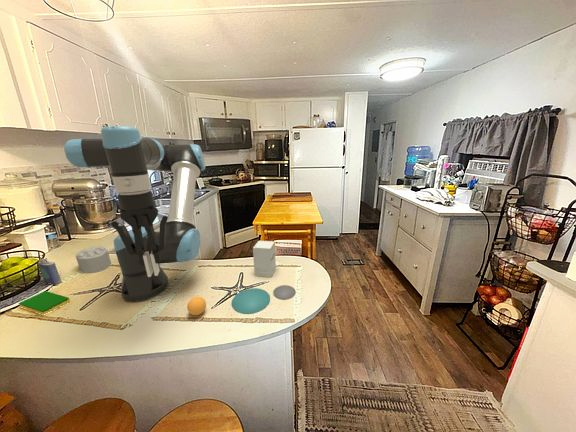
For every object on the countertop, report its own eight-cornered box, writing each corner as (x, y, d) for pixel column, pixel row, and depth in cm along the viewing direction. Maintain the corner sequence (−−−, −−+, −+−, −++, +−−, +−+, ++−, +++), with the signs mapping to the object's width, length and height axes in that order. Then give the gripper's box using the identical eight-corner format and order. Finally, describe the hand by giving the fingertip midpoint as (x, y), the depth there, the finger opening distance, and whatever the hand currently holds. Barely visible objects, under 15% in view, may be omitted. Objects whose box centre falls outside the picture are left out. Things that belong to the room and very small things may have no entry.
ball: (188, 321, 68) (185, 306, 66) (189, 309, 73) (186, 295, 71) (207, 316, 70) (204, 301, 68) (207, 305, 75) (204, 291, 73)
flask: (63, 282, 91) (54, 258, 87) (54, 286, 88) (44, 261, 85) (51, 278, 94) (41, 255, 91) (41, 281, 91) (31, 258, 88)
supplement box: (271, 277, 89) (270, 248, 86) (254, 275, 91) (251, 247, 87) (276, 268, 96) (275, 241, 93) (260, 266, 98) (258, 240, 94)
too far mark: (276, 301, 75) (276, 301, 75) (270, 288, 82) (270, 288, 82) (298, 296, 78) (298, 295, 78) (291, 283, 85) (291, 283, 85)
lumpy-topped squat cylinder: (105, 258, 109) (100, 242, 107) (116, 265, 102) (111, 248, 100) (77, 268, 101) (71, 250, 99) (87, 276, 94) (81, 258, 92)
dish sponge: (45, 317, 72) (42, 311, 71) (20, 308, 76) (18, 302, 76) (71, 303, 78) (69, 297, 78) (47, 296, 83) (45, 290, 82)
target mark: (233, 318, 69) (233, 317, 68) (229, 293, 80) (229, 293, 80) (274, 307, 72) (274, 307, 72) (265, 285, 84) (265, 285, 84)
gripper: (94, 197, 51) (120, 286, 58) (163, 192, 55) (179, 275, 62) (107, 191, 58) (129, 272, 65) (167, 187, 62) (182, 263, 69)
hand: (153, 273), depth 63 cm, fingers closed
